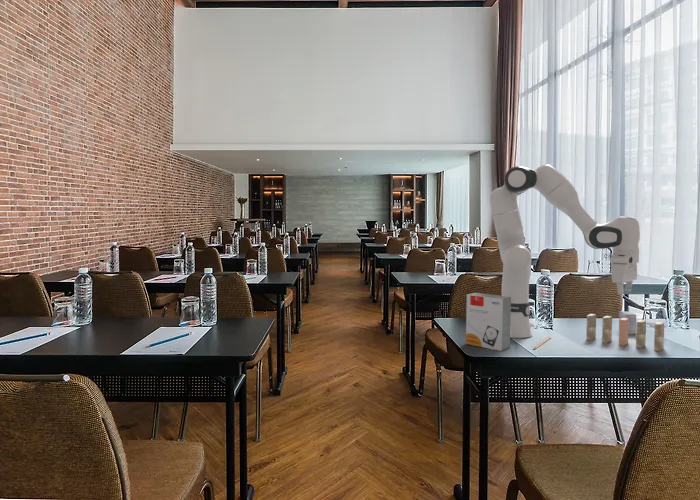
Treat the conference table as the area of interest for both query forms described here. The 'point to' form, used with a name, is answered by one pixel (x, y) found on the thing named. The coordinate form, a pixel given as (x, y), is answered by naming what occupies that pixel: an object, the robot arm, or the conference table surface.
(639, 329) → the domino
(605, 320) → the domino
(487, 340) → the hard drive box
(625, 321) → the domino
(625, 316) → the medicine box
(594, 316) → the domino
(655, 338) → the end domino
